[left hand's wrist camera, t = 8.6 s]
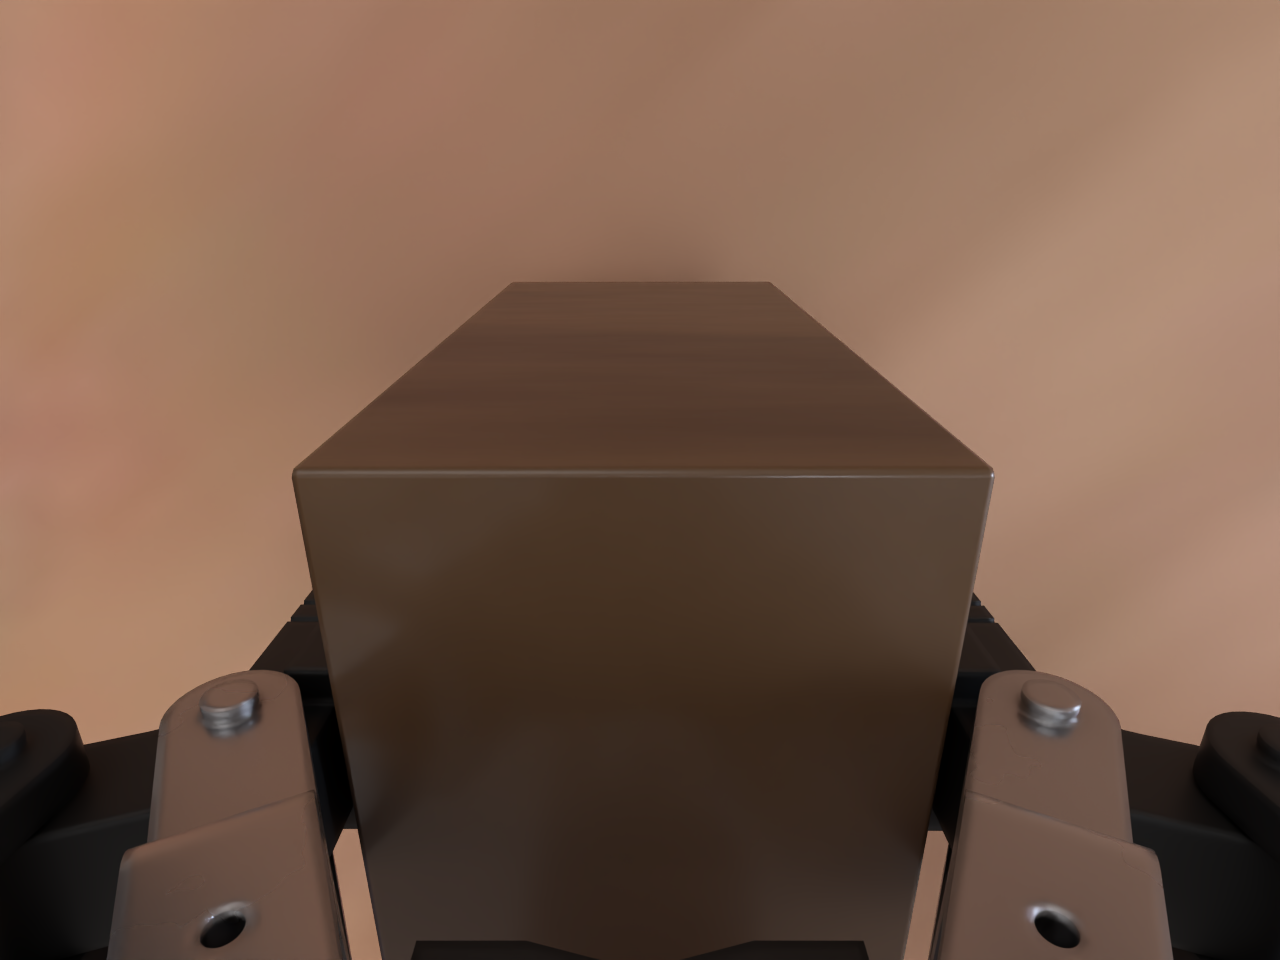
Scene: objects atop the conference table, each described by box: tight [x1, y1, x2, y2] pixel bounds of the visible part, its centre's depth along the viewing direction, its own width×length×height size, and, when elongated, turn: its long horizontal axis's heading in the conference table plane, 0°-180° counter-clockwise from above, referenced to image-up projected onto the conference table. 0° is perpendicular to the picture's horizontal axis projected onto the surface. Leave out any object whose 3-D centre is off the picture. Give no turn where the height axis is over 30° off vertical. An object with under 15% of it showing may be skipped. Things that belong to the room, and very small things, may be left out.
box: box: [292, 282, 994, 960], centre depth 17 cm, size 24×6×12 cm, turn 0°
